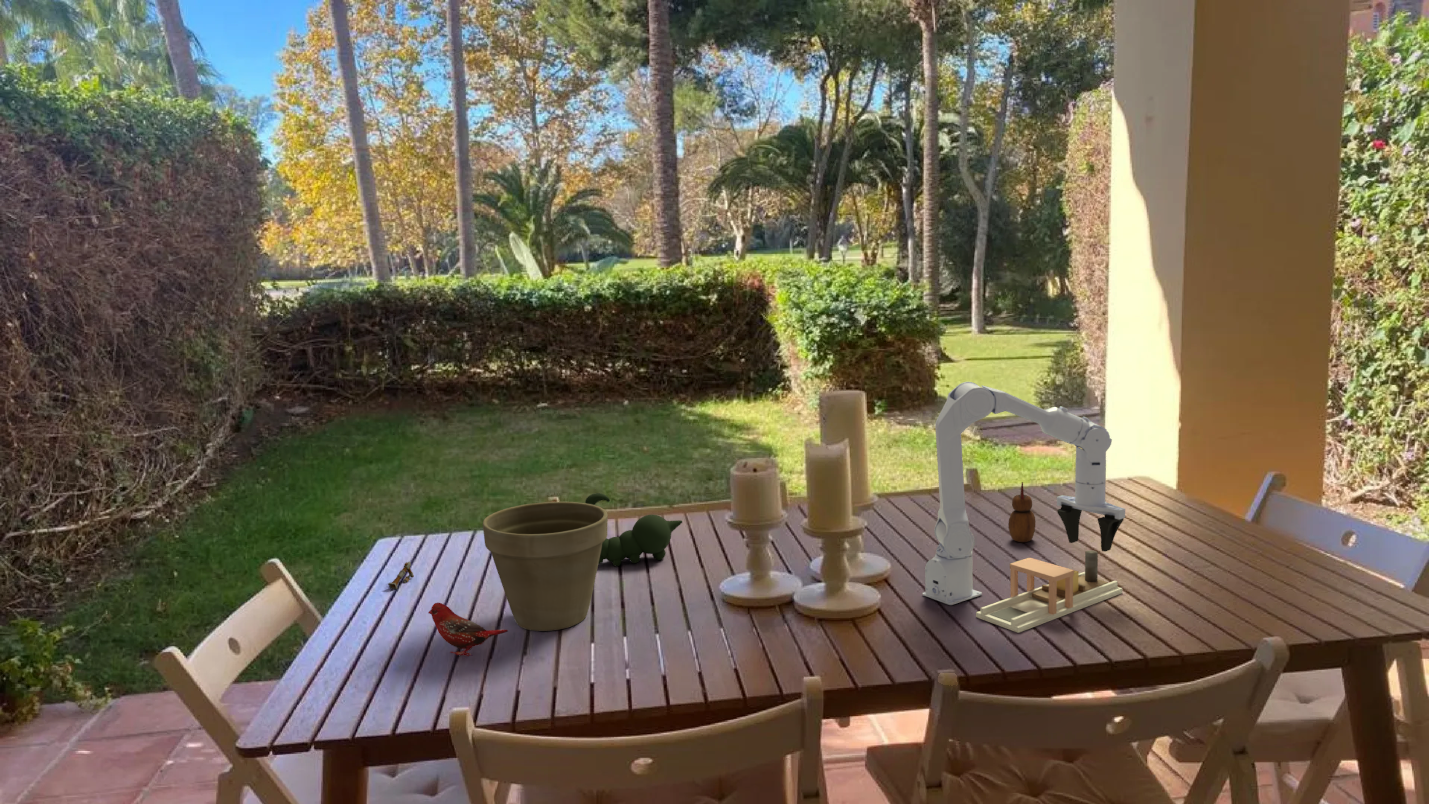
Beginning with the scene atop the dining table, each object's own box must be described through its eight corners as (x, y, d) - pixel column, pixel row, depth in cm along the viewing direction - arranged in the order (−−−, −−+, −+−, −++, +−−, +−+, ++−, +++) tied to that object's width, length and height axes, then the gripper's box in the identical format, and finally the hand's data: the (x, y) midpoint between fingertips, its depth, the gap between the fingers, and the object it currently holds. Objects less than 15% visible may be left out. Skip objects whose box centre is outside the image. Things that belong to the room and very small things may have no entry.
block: (1065, 595, 183) (1065, 575, 183) (1048, 589, 187) (1048, 570, 186) (1078, 590, 185) (1078, 571, 185) (1061, 585, 189) (1061, 566, 188)
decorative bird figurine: (436, 648, 177) (431, 598, 176) (515, 659, 171) (511, 607, 169) (427, 655, 175) (421, 604, 173) (506, 665, 168) (502, 613, 167)
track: (1019, 633, 171) (1019, 589, 170) (975, 616, 180) (975, 574, 179) (1123, 593, 188) (1123, 553, 187) (1078, 580, 197) (1078, 541, 196)
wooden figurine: (1029, 545, 222) (1029, 484, 219) (1005, 542, 225) (1005, 482, 223) (1038, 538, 227) (1038, 478, 225) (1015, 535, 230) (1015, 476, 228)
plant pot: (638, 608, 193) (632, 507, 190) (555, 652, 173) (546, 540, 170) (551, 590, 207) (544, 495, 204) (465, 628, 187) (455, 524, 184)
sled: (1056, 605, 180) (1056, 571, 179) (1031, 597, 185) (1031, 564, 184) (1108, 586, 189) (1108, 554, 188) (1083, 578, 194) (1083, 547, 193)
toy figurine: (585, 579, 218) (689, 559, 222) (572, 502, 215) (678, 483, 219) (584, 567, 227) (684, 548, 231) (572, 492, 224) (673, 474, 228)
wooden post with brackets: (418, 573, 220) (411, 559, 218) (401, 597, 214) (394, 583, 212) (411, 573, 221) (405, 559, 219) (394, 597, 214) (387, 583, 212)
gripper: (1135, 484, 184) (1133, 550, 186) (1071, 472, 196) (1071, 534, 198) (1113, 490, 180) (1112, 557, 182) (1050, 477, 192) (1049, 541, 194)
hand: (1089, 546), depth 190 cm, fingers open, 7 cm apart
